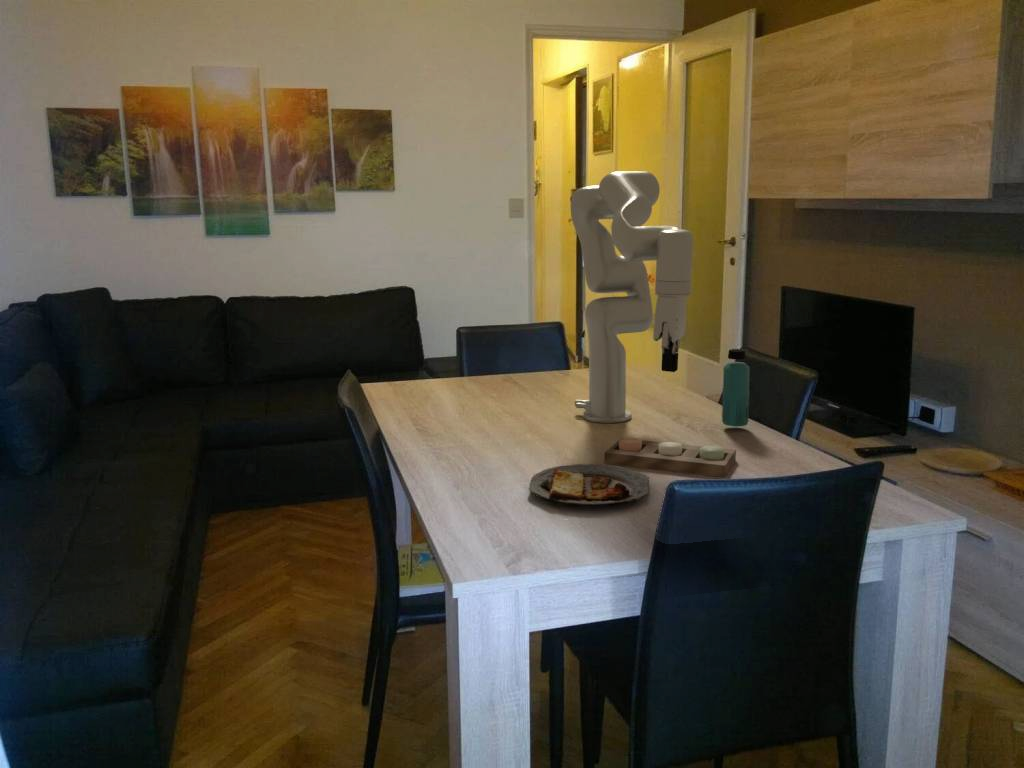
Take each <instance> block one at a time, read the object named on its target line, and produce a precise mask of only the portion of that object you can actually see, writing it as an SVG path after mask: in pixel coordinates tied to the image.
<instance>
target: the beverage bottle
mask: <svg viewBox="0 0 1024 768" xmlns="http://www.w3.org/2000/svg"><path fill="white" fill-rule="evenodd" d="M727 358H728V359H729V360H745V359H746V350H745V349H741V348H731V349H729V350H728V355H727ZM722 369H723V373H722V375H723V378H722V379H723V380H722V381H723V382H722V383H723V384H722V397H721V398H722V399H721V401H722V408H721V421H722V424H723V425H725V426H729V427H745V426H747V425H748V424H749V421H750V420H749V417H750V413H749V411H750V409H749V408H750V406H749V405H750V371H751V370H750V366H749V365H748V364H747V363H745V362H742V361H741V362H740V361H730V362H728V363H726V364H725V365H724V366H723V368H722Z"/></svg>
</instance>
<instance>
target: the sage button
mask: <svg viewBox="0 0 1024 768" xmlns="http://www.w3.org/2000/svg"><path fill="white" fill-rule="evenodd" d="M724 449H725V448H724ZM724 449H723V447H721V446H717V445H704V447H701V448H700V458H701V459H710V460H720V461H723V460H724Z"/></svg>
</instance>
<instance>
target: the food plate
mask: <svg viewBox="0 0 1024 768" xmlns="http://www.w3.org/2000/svg"><path fill="white" fill-rule="evenodd" d="M585 478H591V480H590V483H591V488H588V487H587V485H586V482H585V481H586V480H585ZM613 480H614V481H616V482H617V481H618V482H617V483H615V484H614V486H610V487H609V485H610V484H611V482H613ZM619 482H620V483H619ZM649 483H650V477H649V476H648V475H647V474H645V473H641V472H640V471H635V470H634V469H630V468H626V467H622V466H619V465H612V464H601V463H576V464H566V465H559V466H553V467H550V468H549V467H548V468H545V469H543V470H542V471H540V472H537V473H535V474H533V476H532V478H531V480H530V482H529V484H528V490H529V492H530V493H531V494H533V496H537V497H539V498H541V499H543V500H546V501H550V502H555V503H556V504H568V505H569V504H570V505H583V506H584V505H585V506H591V507H593V506H597V507H598V506H608V505H614V504H628V503H629V502H630V503H631V502H636V501H639V500H641V497H642V498H645V497H646V496H647V495H648V494H649V490H650V489H649V486H650V484H649ZM627 486H628V488H629V489H628V488H627ZM630 489H631V493H630ZM589 490H590V491H589Z"/></svg>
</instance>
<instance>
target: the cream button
mask: <svg viewBox="0 0 1024 768" xmlns="http://www.w3.org/2000/svg"><path fill="white" fill-rule="evenodd" d="M659 454H663V455H673V456H681V455H682V445H681V443H679V442H674V441H663V443H660V444H659Z"/></svg>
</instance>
